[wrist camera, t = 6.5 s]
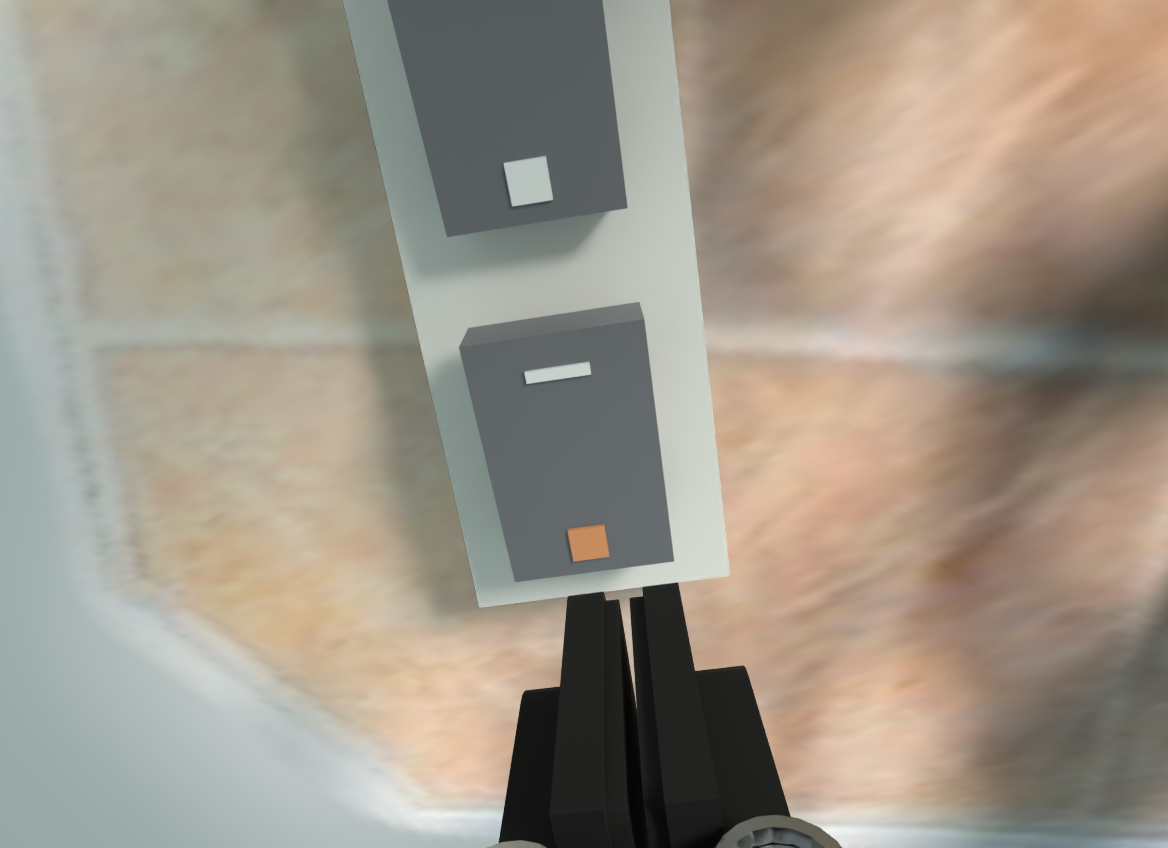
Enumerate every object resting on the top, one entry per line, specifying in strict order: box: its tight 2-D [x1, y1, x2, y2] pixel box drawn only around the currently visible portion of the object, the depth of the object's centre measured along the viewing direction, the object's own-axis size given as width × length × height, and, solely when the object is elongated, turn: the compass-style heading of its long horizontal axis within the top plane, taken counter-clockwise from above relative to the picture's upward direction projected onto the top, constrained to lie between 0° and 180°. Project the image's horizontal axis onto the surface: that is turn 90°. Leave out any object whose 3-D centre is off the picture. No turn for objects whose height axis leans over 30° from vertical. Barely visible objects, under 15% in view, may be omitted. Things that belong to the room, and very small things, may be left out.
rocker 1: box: [387, 0, 628, 237], centre depth 16 cm, size 7×4×2 cm, turn 9°
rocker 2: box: [459, 302, 674, 582], centre depth 19 cm, size 7×4×2 cm, turn 9°
